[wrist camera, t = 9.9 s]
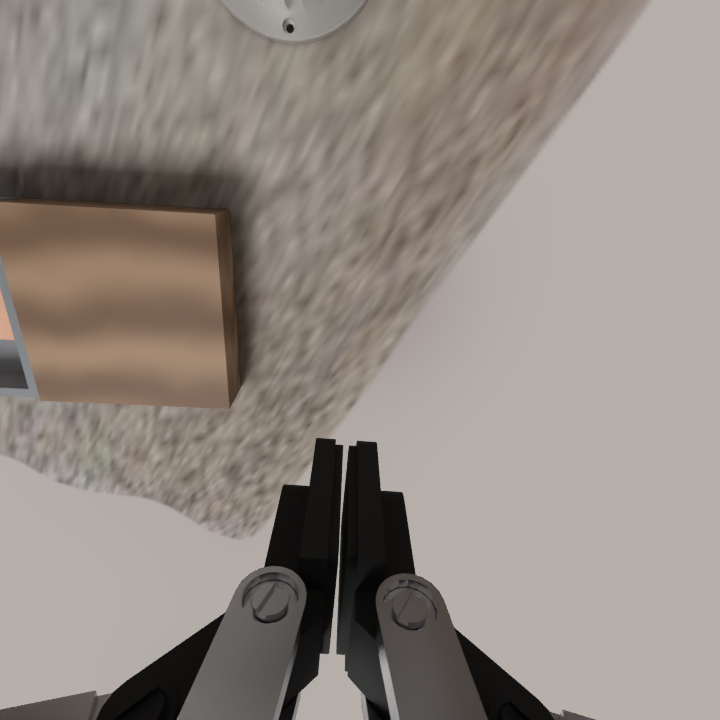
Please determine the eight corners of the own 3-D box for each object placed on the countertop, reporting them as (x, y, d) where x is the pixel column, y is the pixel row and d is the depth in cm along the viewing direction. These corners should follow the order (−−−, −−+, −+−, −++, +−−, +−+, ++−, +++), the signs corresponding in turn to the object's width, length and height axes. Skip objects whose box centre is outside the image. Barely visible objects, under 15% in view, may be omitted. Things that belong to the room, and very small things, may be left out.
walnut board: (25, 198, 34) (-15, 201, 30) (229, 209, 34) (214, 214, 31) (69, 379, 40) (40, 400, 37) (240, 387, 41) (229, 408, 37)
